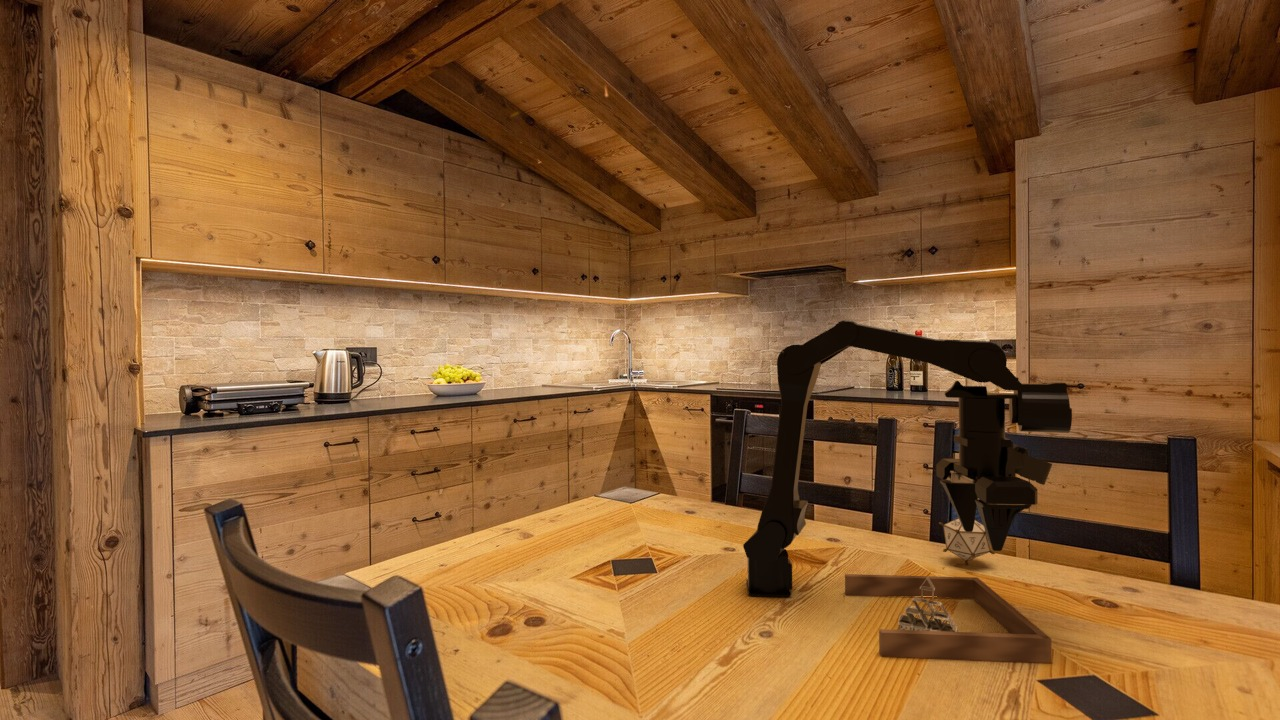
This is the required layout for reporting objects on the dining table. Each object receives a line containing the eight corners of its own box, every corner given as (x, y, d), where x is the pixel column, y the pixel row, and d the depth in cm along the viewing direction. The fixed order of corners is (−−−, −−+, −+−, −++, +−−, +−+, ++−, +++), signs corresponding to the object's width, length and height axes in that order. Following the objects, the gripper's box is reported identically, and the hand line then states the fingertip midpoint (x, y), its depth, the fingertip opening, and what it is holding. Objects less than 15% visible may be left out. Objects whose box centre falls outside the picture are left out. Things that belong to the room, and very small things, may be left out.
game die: (1001, 576, 106) (1001, 517, 106) (947, 573, 108) (947, 515, 108) (984, 559, 115) (983, 504, 115) (934, 556, 117) (933, 503, 116)
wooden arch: (881, 656, 79) (881, 632, 79) (845, 592, 100) (844, 574, 99) (1051, 663, 76) (1051, 638, 76) (977, 596, 97) (977, 577, 97)
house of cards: (975, 624, 88) (974, 569, 88) (970, 649, 81) (969, 589, 81) (906, 611, 93) (906, 559, 93) (896, 633, 86) (895, 577, 86)
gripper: (1082, 439, 78) (1082, 564, 78) (1010, 422, 97) (1010, 523, 97) (987, 438, 79) (988, 561, 80) (935, 422, 98) (935, 522, 98)
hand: (982, 540), depth 89 cm, fingers open, 9 cm apart
